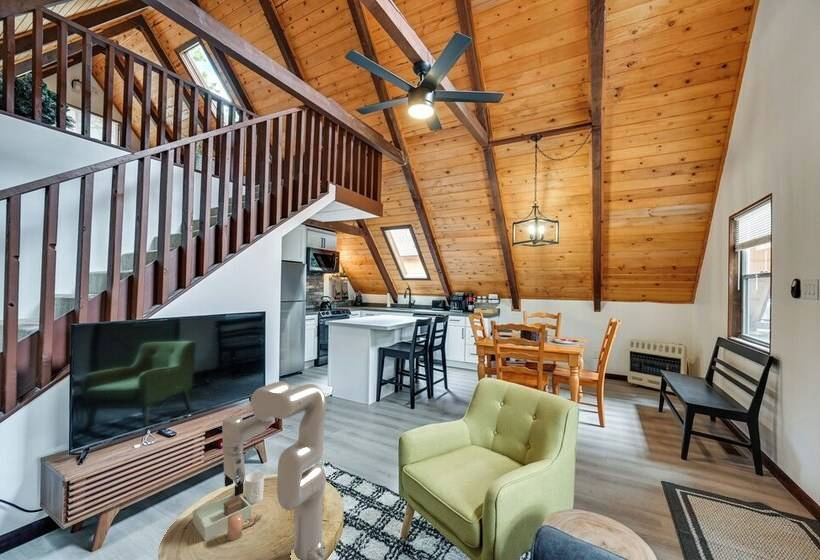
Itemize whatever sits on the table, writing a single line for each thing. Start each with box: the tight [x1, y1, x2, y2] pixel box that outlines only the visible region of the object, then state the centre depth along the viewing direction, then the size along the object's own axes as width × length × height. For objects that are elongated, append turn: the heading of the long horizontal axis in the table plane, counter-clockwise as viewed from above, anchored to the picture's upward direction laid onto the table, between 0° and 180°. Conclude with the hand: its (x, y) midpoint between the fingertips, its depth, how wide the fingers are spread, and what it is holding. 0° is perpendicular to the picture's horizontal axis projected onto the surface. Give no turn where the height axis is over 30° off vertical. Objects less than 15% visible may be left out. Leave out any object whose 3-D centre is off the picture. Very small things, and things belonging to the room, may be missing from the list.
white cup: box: [244, 471, 265, 505], centre depth 159 cm, size 8×8×10 cm
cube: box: [224, 497, 242, 516], centre depth 148 cm, size 5×5×5 cm
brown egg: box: [227, 513, 243, 542], centre depth 137 cm, size 5×5×7 cm
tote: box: [192, 492, 252, 542], centre depth 145 cm, size 13×17×5 cm
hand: (233, 489), depth 148 cm, fingers open, 9 cm apart
